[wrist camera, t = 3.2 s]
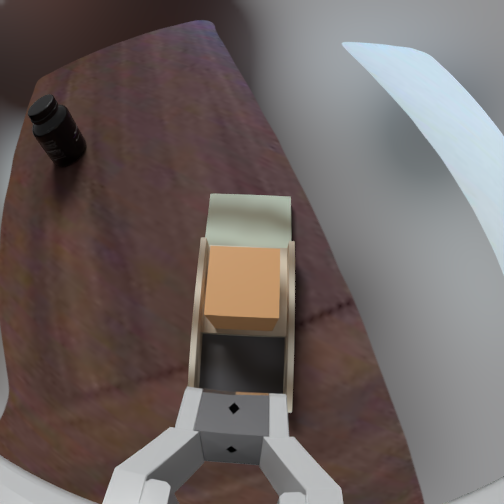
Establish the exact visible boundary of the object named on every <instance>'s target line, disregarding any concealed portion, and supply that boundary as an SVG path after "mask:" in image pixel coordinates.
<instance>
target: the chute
mask: <svg viewBox="0 0 504 504" xmlns="http://www.w3.org/2000/svg"><path fill="white" fill-rule="evenodd" d="M210 246H228V247H252V248H276V249H280V299H279V319H278V321H277V323H276V325H275V327H274V328H273V330H272V331H257V330H235V329H218V328H214V326H213V325H212V324H211V323H210V321H209V320H208V319H207V318H206V316H205V315H204V309H205V297H206V286H207V275H208V265H209V255H210ZM294 334H295V241H291V197H285V196H265V195H239V194H211V196H210V203H209V211H208V219H207V227H206V236H205V238H202V237H201V243H200V251H199V260H198V269H197V278H196V288H195V299H194V309H193V321H192V333H191V346H190V360H189V375H188V387H194V388H202V389H211V390H219V391H228V392H250V393H272V394H286V396H287V408H288V413H292V401H293V374H294Z"/></svg>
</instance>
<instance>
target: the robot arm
mask: <svg viewBox="0 0 504 504" xmlns="http://www.w3.org/2000/svg"><path fill="white" fill-rule="evenodd" d="M204 461H213V462H226V463H239V464H251V465H259V467H260V468H261V470H262V471H263V473H264V474H265V476H266V477H267V479H268V480H269V482H270V483H271V485H272V486H273V488H274V489H275V491H276V492H277V494H278V495H279V496H280V497H279V499H278V502H277V504H343V498H342V491H341V488H340V487H339V486H338V485H337V484H336V482H335V481H334V480H333V479H332V478H331V477H330V476H329V475H328V474H327V473H326V472H325V471H324V470H323V469H322V468H321V467H320V465H319V464H318V463H317V462H316V461H315V460H314V459H313V458H312V457H311V456H310V455H309V453H308V452H307V451H306V450H305V449H304V448H303V447H302V446H301V444H300V443H299V442H298V441H297V440H296V439H295V438H294V437H289V426H288V408H287V396H286V394H272V393H250V392H228V391H219V390H211V389H202V388H194V387H187V388H186V390H185V392H184V396H183V400H182V403H181V407H180V410H179V414H178V418H177V421H176V425H175V428H172V427H170V428H168V429H167V430H166V431H164V432H163V433H162V434H161V435H159V436H158V437H157V438H155V439H154V440H153V441H151V442H150V443H149V444H147V445H146V446H145V447H143V448H142V449H141V450H139V451H138V452H137V453H135V454H134V455H133V456H131V457H130V458H128V459H127V460H126V461H124V462H123V463H121V464H120V465H119V466H117V467H116V468H115V470H114V472H113V475H112V478H111V481H110V484H109V486H108V489H107V492H106V495H105V498H104V501H103V504H179V502H178V500H177V498H176V496H175V494H174V493H175V492H176V491H177V490H178V489H179V488H180V487H181V486H182V485H183V484H184V483H185V482H186V481H187V480H188V479H189V478H190V477H191V476H192V475H193V474H194V472H195V471H196V470H197V469H198V468H199V467H200V466H201V465H202V464H203V463H204ZM0 504H98V503H95V502H93V501H90V500H87V499H85V498H82V497H80V496H77V495H75V494H73V493H70V492H68V491H66V490H63V489H61V488H59V487H57V486H55V485H53V484H51V483H48V482H46V481H44V480H42V479H40V478H39V477H37V476H35V475H33V474H31V473H29V472H27V471H25V470H24V469H22V468H20V467H18V466H17V465H15V464H13V463H12V462H10V461H8V460H7V459H5V458H4V457H2V456H0ZM443 504H504V476H503V477H501V478H500V479H498V480H496V481H494V482H492V483H490V484H488V485H486V486H484V487H482V488H480V489H477V490H475V491H473V492H471V493H468V494H466V495H464V496H461V497H459V498H456V499H454V500H451V501H449V502H446V503H443Z"/></svg>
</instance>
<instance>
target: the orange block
mask: <svg viewBox="0 0 504 504" xmlns="http://www.w3.org/2000/svg"><path fill="white" fill-rule="evenodd" d="M279 299H280V249H276V248H252V247H228V246H210V255H209V265H208V275H207V286H206V297H205V309H204V315H205V316H206V318H207V319H208V320H209V321H210V323H211V324H212V325H213V326H214V328H218V329H235V330H257V331H272V330H273V328H274V327H275V325H276V323H277V321H278V319H279Z"/></svg>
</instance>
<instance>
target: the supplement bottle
mask: <svg viewBox="0 0 504 504" xmlns="http://www.w3.org/2000/svg"><path fill="white" fill-rule="evenodd" d="M28 116H29V117H30V119H31V122H32V123H33V129H32V131H33V135H34V136H35V138H36V139H37V141H38V142H39V143H40V145H41V146H42V148H43V149H44V150H45V152H46V153H47V155H48V156H49V157H50V159H51V160H52V161H53V163H54V164H55V165H57V166H59V167H64V166H68V165H70V164H72V163H74V162H75V161H76V160H77V159H78V158H79V157H80V156H81V155H82V153H83V152H84V149H85V145H86V142H85V139H84V137H83V136H82V134H81V132H80V130H79V129H78V127H77V125H76V123H75V121H74V120H73V118H72V116H71V114H70V112H69V111H68V109H67V107H65V106H64V105H58V103H57V101H56V100H55V98H54V96H53V95H50V94H49V95H45V96H43V97H41V98H40V99H38V100H37V101H36V102H35V103H34V104H33V105H32V106H31V107H30V109H29V111H28Z"/></svg>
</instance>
